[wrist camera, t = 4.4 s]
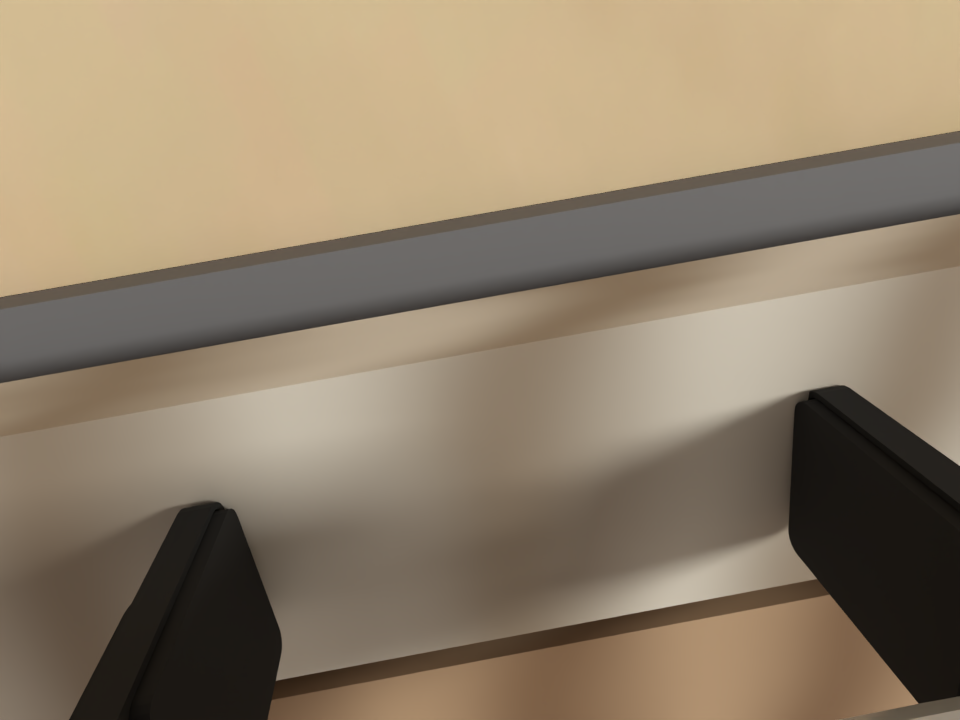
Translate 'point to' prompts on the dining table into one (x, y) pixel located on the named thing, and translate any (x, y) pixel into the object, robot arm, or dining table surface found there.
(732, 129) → the dining table surface
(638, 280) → the loose plank
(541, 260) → the floor panel
